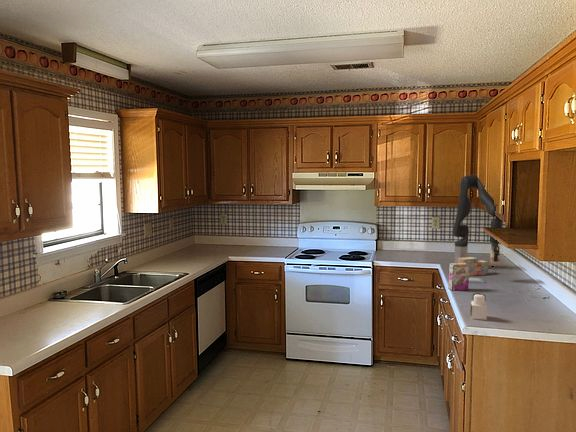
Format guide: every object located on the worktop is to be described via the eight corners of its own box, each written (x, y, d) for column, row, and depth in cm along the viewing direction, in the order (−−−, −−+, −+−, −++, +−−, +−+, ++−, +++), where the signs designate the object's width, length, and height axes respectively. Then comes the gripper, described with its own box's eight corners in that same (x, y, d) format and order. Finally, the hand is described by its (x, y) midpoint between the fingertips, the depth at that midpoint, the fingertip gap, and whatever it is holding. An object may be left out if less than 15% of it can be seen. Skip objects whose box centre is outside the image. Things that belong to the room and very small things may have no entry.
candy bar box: (452, 291, 294) (452, 264, 292) (448, 289, 299) (448, 263, 297) (468, 290, 296) (469, 264, 294) (464, 288, 300) (465, 262, 299)
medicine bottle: (470, 314, 245) (471, 291, 243) (485, 316, 243) (486, 292, 241) (471, 319, 238) (472, 295, 237) (486, 320, 236) (487, 296, 235)
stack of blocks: (482, 272, 347) (483, 256, 346) (488, 274, 341) (488, 257, 340) (457, 274, 341) (457, 257, 340) (462, 276, 335) (463, 259, 334)
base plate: (463, 278, 328) (463, 276, 327) (481, 279, 325) (481, 277, 325) (465, 282, 316) (465, 280, 316) (484, 283, 313) (485, 281, 313)
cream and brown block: (489, 262, 322) (490, 250, 321) (497, 262, 321) (498, 250, 320) (491, 263, 317) (491, 251, 316) (499, 263, 316) (500, 251, 315)
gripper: (487, 233, 325) (486, 258, 326) (492, 236, 311) (490, 262, 312) (499, 234, 323) (498, 258, 325) (504, 237, 309) (503, 262, 311)
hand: (494, 260), depth 319 cm, fingers closed on cream and brown block, 5 cm apart
